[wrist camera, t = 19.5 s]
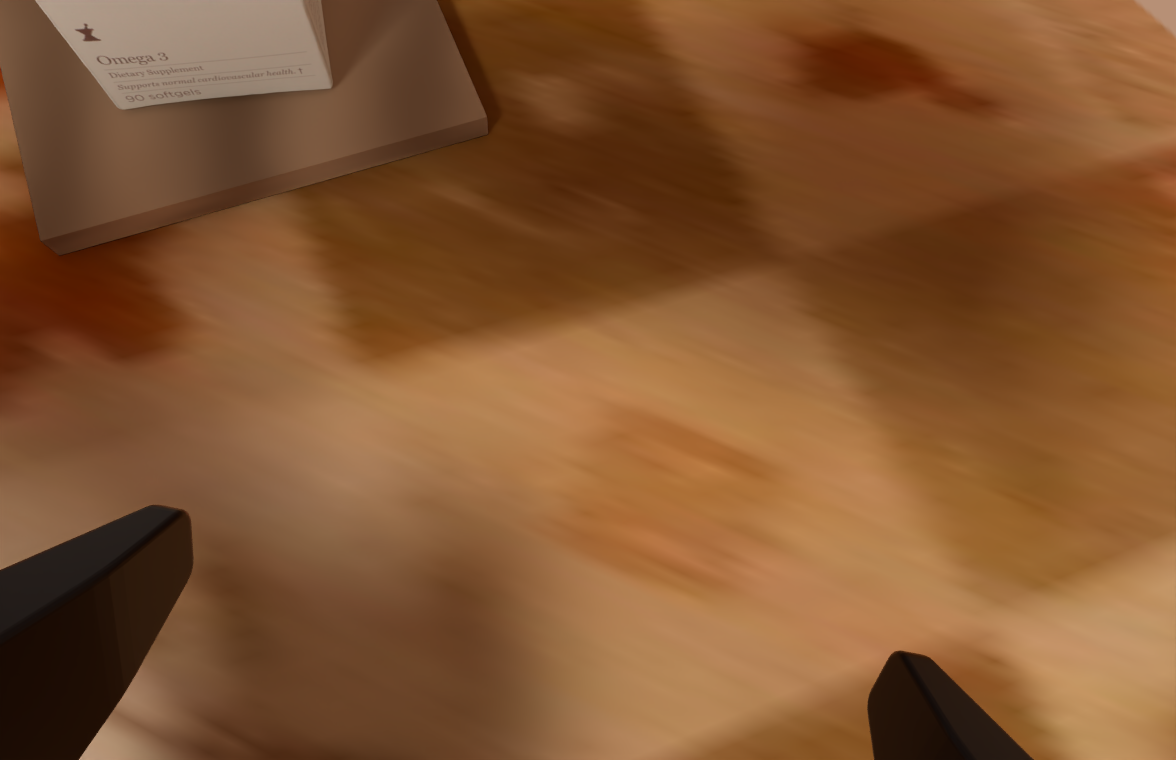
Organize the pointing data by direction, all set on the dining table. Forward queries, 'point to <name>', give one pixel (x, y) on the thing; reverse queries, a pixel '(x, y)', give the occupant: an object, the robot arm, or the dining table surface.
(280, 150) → the walnut board
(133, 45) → the supplement box
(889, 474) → the dining table surface
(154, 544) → the robot arm
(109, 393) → the dining table surface
